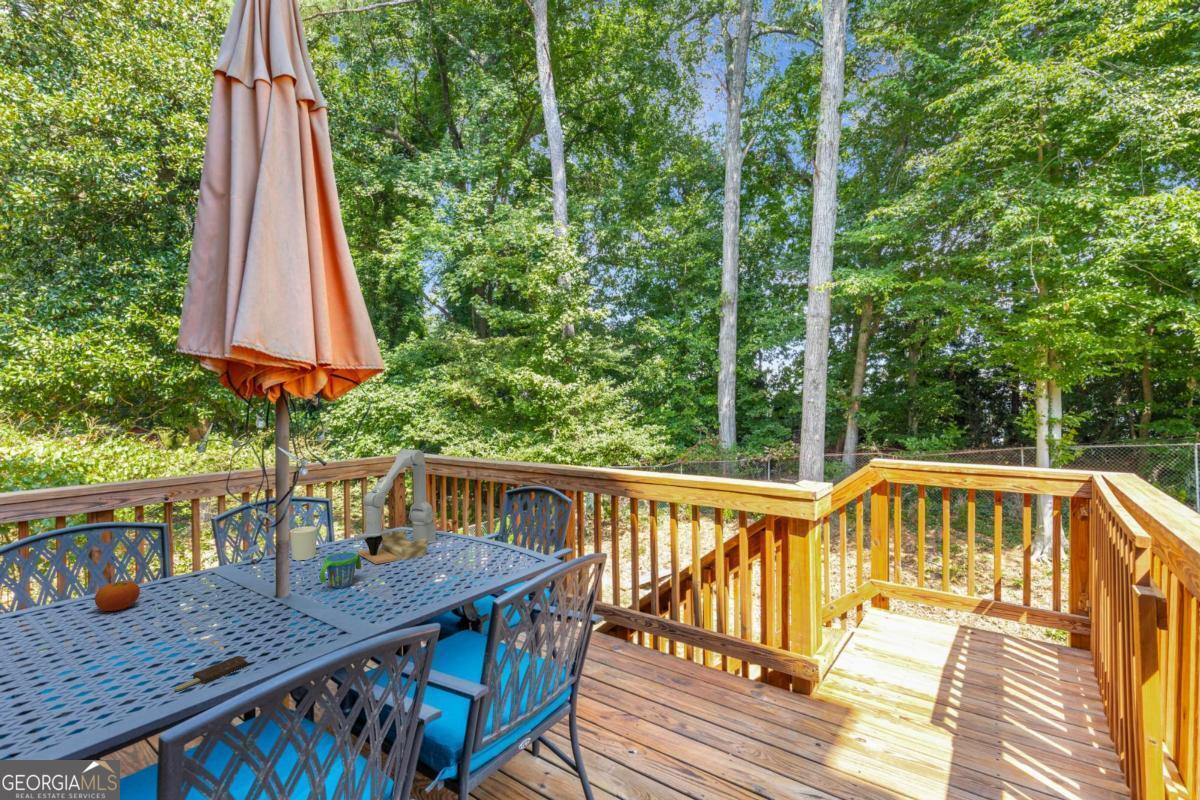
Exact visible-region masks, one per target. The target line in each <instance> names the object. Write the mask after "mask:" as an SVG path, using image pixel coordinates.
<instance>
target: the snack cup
mask: <svg viewBox="0 0 1200 800" xmlns="http://www.w3.org/2000/svg"><path fill="white" fill-rule="evenodd" d="M361 568H362V559H361V556H360V555H359V554H358V553H356V552H349V551H347V552H337V553H333V554H329V555H328V556H326V557H325V558H324V563H323V564H322V567H321V569H320V575H319V580H320V582H321V583H326V582H327V579H326V573H325V572H327V577H328V585H329V586H330V588H332V589H343V588H346V587H349V586H350V585H353V584H354V580H355V574H356V569H357V570H361Z"/></svg>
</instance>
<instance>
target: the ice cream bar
mask: <svg viewBox="0 0 1200 800" xmlns="http://www.w3.org/2000/svg"><path fill="white" fill-rule="evenodd" d="M246 666H247V667H248V666H249V665H248V661H247V660H246V657H244V656H242V655H238V656H233V657H231V658H228V659H226V660H224V661H223V660H222V661H221V662H219V663H216V664H213V665H211V666H209V667H206V668H204V669H201V670H198V671H195V672H194V673H193V674H192V675H193V679H190V680H189V681H186V682H183V683H181V684H179V685H176V686H175V687H174V691H175V692H179V691H182V690H185V689H186V688H189V687H191V686H194V685H196V684H199V683H200V684H203V685H207V684H210V683H213V682H214V681H217V680H218V679H221V678H223V677H222V676H224V677H225V675H226V676H228V675H230V674H229V673H231V672H233V673H235V672H237V671H236V670H238V671H240V670H242V669H244V667H245V668H247V667H246ZM241 668H242V669H241ZM239 669H240V670H239ZM234 671H235V672H234ZM227 674H228V675H227ZM231 674H232V673H231ZM220 677H221V678H220ZM216 679H217V680H216Z"/></svg>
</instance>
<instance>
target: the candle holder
mask: <svg viewBox="0 0 1200 800" xmlns="http://www.w3.org/2000/svg"><path fill="white" fill-rule="evenodd" d="M289 533H290V549H291V550H290V553H291V560H292V559H294V560H305V559H310V558H313V557H315V558H316V551H317V537H318V527H317V526H308V525H307V526H298V527H296V528H295V527H294V528H292V529H289Z"/></svg>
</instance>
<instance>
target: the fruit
mask: <svg viewBox="0 0 1200 800" xmlns="http://www.w3.org/2000/svg"><path fill="white" fill-rule="evenodd" d="M140 593H141V589H140V586H139V585H138V584H137V583H136V582H135V581H131V580H121V581H113V582H110V583H109V584H106V585H104V586H102V587H100V588H99V589H98V591H97V592H96V593H95V595H94V603H95V606H96V607H97V608H98V610H101V611H102V612H103V611H104V612H114V611H121V610H124V609H126V608H129V607H130V606H132V605H133V604H134V603H135V602H136V601H137V600H138V599H139V597H140Z"/></svg>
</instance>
